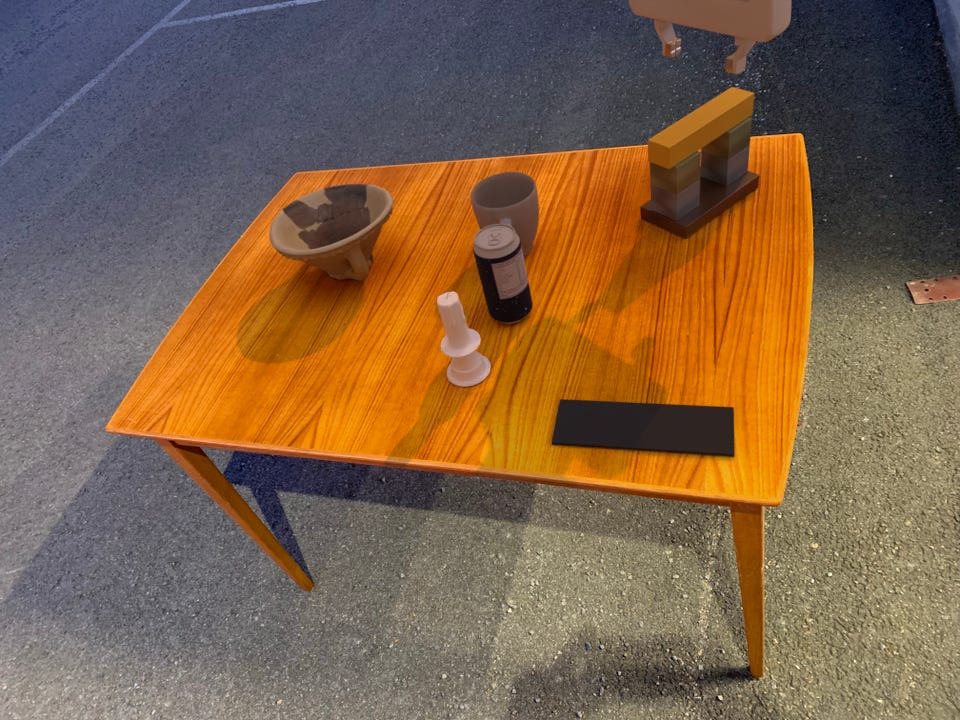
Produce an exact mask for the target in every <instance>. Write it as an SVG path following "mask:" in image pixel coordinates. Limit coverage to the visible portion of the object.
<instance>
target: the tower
mask: <svg viewBox="0 0 960 720" xmlns="http://www.w3.org/2000/svg"><path fill="white" fill-rule="evenodd" d="M752 123H753V118H752V117H751V116H749V117H748V118H746V119H745V120H743V121H742V122H740V123H739V124H737V125H736V126H734V127H733V128H731V129H730V130H728V131H727V132H725V133H724V134H722V135H721V136H719V137H718V138H716V139H715V140H713V141H711V142H710V143H708V144H707V145H705V146H704V147H702V148H701V149H700V151H699V150H698V151H696V152H695V153H693V154H692V155H690V156H689V157H687V158H686V159H684V160H683V161H681V162H680V163H678V164H677V165H675V166H674V167H672V168H670V169H667V168H665V167H662V166H660V165H657V164H655V163H652V162H649V184H650V185H649V186H650V189H649V191H650V200H648V201H647V202H644V203H643V204H642V205H640V206H639V211H640V212H639V213H640V219H641V220H643V221H645V222H647V223H649V224H652V225H653V226H656V227H658V228H660V229H663V230H665V231H667V232H669V233H671V234H673V235H676V236H678V237H680V238H682V239H683V240H686V239H688V238H690V237H691V236H692V235H694V234H695V233H696V232H698V231H699V230H701V229H702V228H703V227H706V225H708V224H709V223H710V222H712V221H713V220H714V219H716V218H718V217H719V216H720V215H722V214H723V213H724V212H726V211H727V210H729V209H730V208H732V207H733V206H734V205H736V204H737V203H739V202H740V201H741V200H743V199H745V198H746V197H747V196H748V195H750V194H751V193H752V192H754V191H755V190H756V189H758V188H759V186H760V185H759V184H760V176H761V175H760V174H758V173H755V172H753V171H749V161H750V150H751V137H752V136H751V135H752V125H753V124H752Z"/></svg>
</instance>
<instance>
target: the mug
mask: <svg viewBox="0 0 960 720" xmlns="http://www.w3.org/2000/svg"><path fill="white" fill-rule="evenodd" d="M470 203H471V206H472V209H473V213H474V216H475V219H476V222H477V225H478V227H479V230H481V229H482V228H484V227H486V226H489V225H493V224H507V225H509V226H511V227H513V228H514V230H515V232H516V234H517V235H518V236H519V238H520V240H521V245H522V250H523V256H524V257H526V256H528V255H529V254H530V253H531V252H532V251H533V250H534V249H533V248H534V243H535V239H536V236H537V232H538V228H539V221H540V202H539V194H538V187H537V183H536V181H535V180H534V178H533V177H531V176H530V175H529V174H526V173H523V172H519V171H504V172H499V173H496V174H493V175H489V176H488V177H485V178H484V179H481V181H479V182H478V183H476V184H475V186H473V189H472V191H471V193H470Z"/></svg>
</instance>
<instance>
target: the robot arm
mask: <svg viewBox="0 0 960 720" xmlns="http://www.w3.org/2000/svg"><path fill="white" fill-rule="evenodd" d="M628 6H629V7H630V10H631V11H632V13H633V14H634V15H635V16H639V17H643V18H648V19H652V20H653V25H654V29H655V32H656V34H657V36H658V38H659V40H660V42H661V43H662V44H661V45H662V47H661V49H662V51H661V52H662V56H663V57H668V58H675V57H677V56H679V55H681V53H682V47H681V45H682V38H680V37H677V35H676V32H675V29H674V26H673V24H675V25H681V26H684V27H689V28H694V29H699V30H703V31H707V32H712V33H716V34H717V33H718V34H722V35H725V36H730V37H734V45H735V46H736V47H737V48H736V50H735V52H733V53H731V55H728V56H727V57H726V58H725V67H724V69H725V70H724V71H725V72H727V73H731V74H734V75H739V74H740V73H742V72H744V71H745V69H746V67H747V55H749V53H750V52H751V50H752V49H753V47H754V46H755V44H756V43H767V42H770V41H771V40H774V39H775V38H777V37H778V36H780V35H781V34H782V33H784V31H786V29H787V28H788V27H789V26H790V23H791V20H792V0H628Z"/></svg>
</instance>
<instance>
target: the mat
mask: <svg viewBox="0 0 960 720" xmlns="http://www.w3.org/2000/svg"><path fill="white" fill-rule="evenodd" d="M551 445H553V446H568V447H584V448H596V449H597V448H598V449H613V450H625V451H627V450H628V451H629V450H630V451H641V452H643V451H644V452H656V453H657V452H659V453H673V454H686V455H687V454H688V455H703V456H718V457H719V456H721V457H731V458H734V457H735V455H736V453H735V408H734V406H720V405H719V406H716V405H693V404H675V403H672V404H671V403H655V402H653V403H652V402H650V403H649V402H633V401H632V402H631V401H630V402H629V401H610V400H609V401H608V400H607V401H606V400H587V399H566V398H560V399H559V402H558V408H557V413H556V417H555V422H554V428H553V433H552V439H551Z"/></svg>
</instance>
